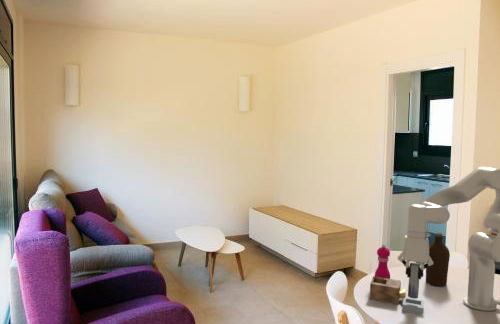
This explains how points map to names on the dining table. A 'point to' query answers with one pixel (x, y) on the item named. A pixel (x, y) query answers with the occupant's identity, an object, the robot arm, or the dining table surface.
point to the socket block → (385, 289)
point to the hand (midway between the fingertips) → (414, 276)
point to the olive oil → (438, 263)
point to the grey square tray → (413, 305)
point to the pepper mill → (383, 262)
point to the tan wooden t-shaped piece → (402, 294)
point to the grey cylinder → (413, 280)
